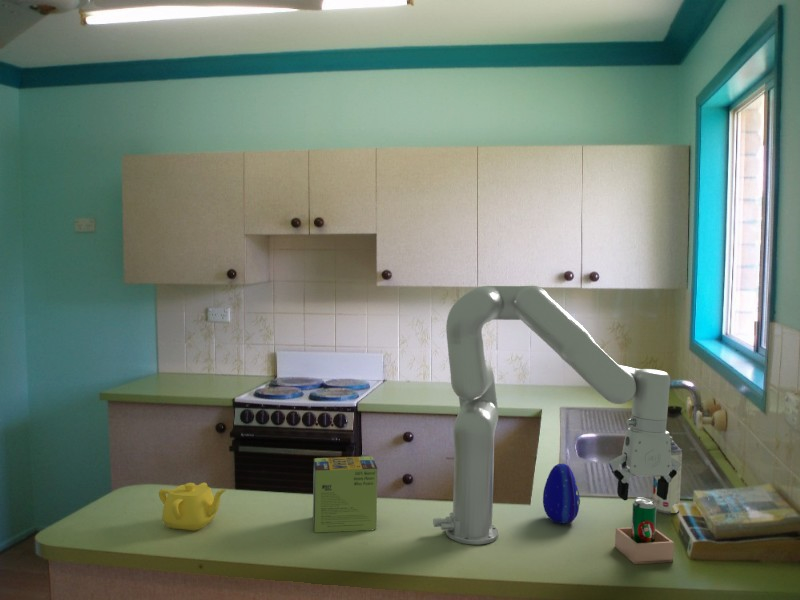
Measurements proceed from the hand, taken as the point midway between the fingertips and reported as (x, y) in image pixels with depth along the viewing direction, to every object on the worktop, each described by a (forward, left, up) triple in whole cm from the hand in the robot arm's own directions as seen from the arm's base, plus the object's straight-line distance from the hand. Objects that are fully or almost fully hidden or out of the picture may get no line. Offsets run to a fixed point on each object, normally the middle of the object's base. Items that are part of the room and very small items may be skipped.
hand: (642, 498), depth 156 cm
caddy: (+1, 0, -13) cm, 13 cm away
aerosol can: (+22, +25, -13) cm, 35 cm away
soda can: (0, 0, -13) cm, 13 cm away
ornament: (-10, +21, -13) cm, 27 cm away
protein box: (-65, +27, -13) cm, 72 cm away
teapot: (-102, +31, -13) cm, 108 cm away
